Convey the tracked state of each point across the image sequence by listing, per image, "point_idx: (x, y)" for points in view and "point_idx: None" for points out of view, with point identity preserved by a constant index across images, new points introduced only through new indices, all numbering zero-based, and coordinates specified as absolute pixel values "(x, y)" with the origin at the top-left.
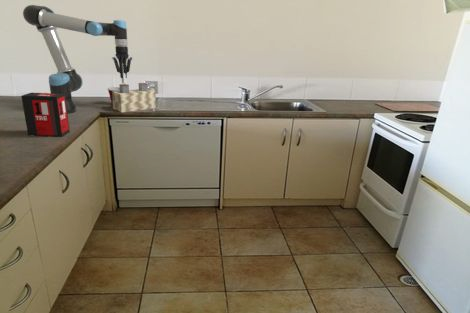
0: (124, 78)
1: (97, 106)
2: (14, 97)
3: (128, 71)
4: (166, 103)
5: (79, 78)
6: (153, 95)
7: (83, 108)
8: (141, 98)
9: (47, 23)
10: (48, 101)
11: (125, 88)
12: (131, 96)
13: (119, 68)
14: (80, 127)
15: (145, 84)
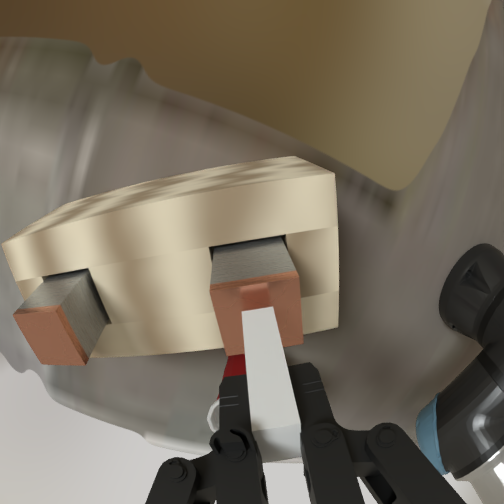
0: (267, 357)
1: (345, 339)
2: None
3: (176, 467)
4: (15, 293)
5: (447, 441)
6: (30, 228)
7: (407, 315)
8: (122, 199)
9: None
10: None
11: (254, 263)
12: (210, 185)
13: (405, 491)
14: (487, 22)
15: (29, 309)
